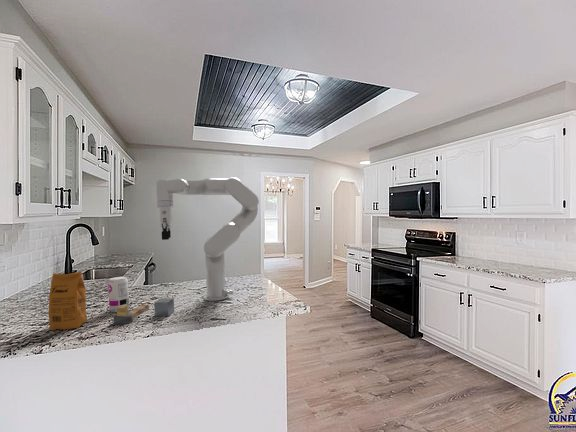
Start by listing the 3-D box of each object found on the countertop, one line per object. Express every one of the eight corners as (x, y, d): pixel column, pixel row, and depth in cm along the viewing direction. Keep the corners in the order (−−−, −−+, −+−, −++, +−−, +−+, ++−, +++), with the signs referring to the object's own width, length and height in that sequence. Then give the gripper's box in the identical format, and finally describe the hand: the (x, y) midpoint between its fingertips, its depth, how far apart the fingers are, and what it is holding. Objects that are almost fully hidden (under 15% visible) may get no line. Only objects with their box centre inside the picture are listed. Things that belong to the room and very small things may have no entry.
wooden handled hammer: (138, 308, 148) (137, 295, 148) (152, 308, 147) (151, 294, 147) (109, 325, 127) (109, 309, 127) (126, 325, 127) (125, 309, 127)
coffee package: (60, 322, 133) (57, 271, 132) (91, 320, 134) (88, 269, 133) (44, 332, 123) (40, 276, 122) (77, 329, 124) (74, 274, 123)
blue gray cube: (174, 311, 142) (173, 298, 142) (168, 316, 136) (167, 302, 136) (161, 311, 143) (160, 298, 143) (154, 316, 137) (154, 302, 137)
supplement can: (109, 313, 142) (107, 281, 142) (110, 309, 149) (108, 277, 149) (129, 310, 146) (127, 278, 145) (129, 306, 153) (127, 275, 153)
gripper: (171, 204, 149) (173, 239, 149) (174, 204, 166) (175, 236, 166) (154, 204, 147) (156, 240, 147) (159, 204, 164) (160, 237, 164)
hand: (166, 238), depth 157 cm, fingers open, 9 cm apart
